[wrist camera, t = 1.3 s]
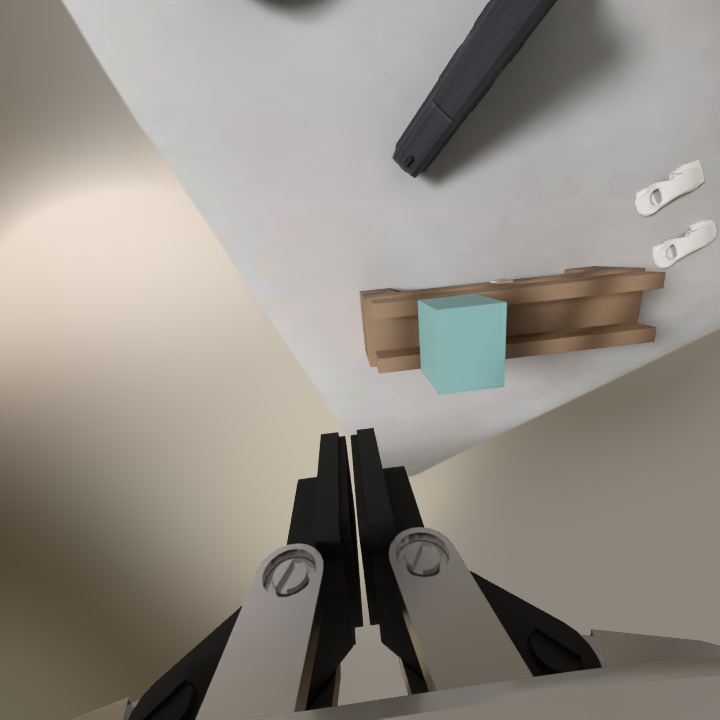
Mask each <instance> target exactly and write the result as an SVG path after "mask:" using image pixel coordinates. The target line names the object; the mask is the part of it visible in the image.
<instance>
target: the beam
mask: <svg viewBox="0 0 720 720" xmlns="http://www.w3.org/2000/svg"><path fill="white" fill-rule="evenodd" d="M665 273H666V272H647V271H645V268H628V267H599V266H592V267H583V268H574V269H565V274H561V275H551V276H542V277H533V278H524V279H514V280H506V279H500V280H490V282H486V283H477V284H468V285H459V286H449V287H440V288H431V289H421V290H412V291H403V292H395V291H393V290H392V289H390V288H387V289H378V290H369V291H360V300H361V310H362V320H363V330H364V341H365V350H366V353H367V356H368V360H369V363H370V366H371V367H376V366H377V368H378V371H379V373H387V372H396V371H404V370H413V369H421V361H420V340H419V320H418V300H423V299H432V298H441V297H451V296H460V295H469V294H478V295H481V296H485V297H489V298H493V299H496V300H500V301H504V302H507V315H506V348H505V359H508V358H517V357H526V356H534V355H543V354H552V353H560V352H569V351H578V350H586V349H595V348H604V347H612V346H621V345H630V344H638V343H647V342H654V340H655V334H656V327H652V326H647V325H643V324H638V323H637V322H638V315H639V308H640V301H641V295H642V290H649V289H658V288H663V285H664V279H665Z"/></svg>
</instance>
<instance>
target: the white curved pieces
mask: <svg viewBox="0 0 720 720" xmlns="http://www.w3.org/2000/svg"><path fill="white" fill-rule="evenodd" d="M669 175H670V181H664V182H657V183H654V184H652V185H650V186H648V187H645V188H644V189H642V190H640V191H638V192H637V193H636V201H635V204H636V208H637V211H638V213H639V214H641V215H642V216H643V217H646V216H649V215H651V214H653V213H655V212H656V211H657V210H659V209H660V208H661V207H663V206H665V205H666V204H668V203H669V202H670V201H671V200H673V199H674V198H676V197H678V196H680V195H682V194H685V193H688V192H690V191H692V190H694V189H696V188H697V187H698V186H699V185H700V184H701V183H703V182H704V178H703V172H702V168H701V165H700V162H699V160H696V161H693V162H689V163H685V164H683V165H682V166H680V167H678V168H677V169H676V170H675V171H673V172H671V174H669ZM656 189H658V190H659V192H660V195H661V203H660V204H658V203H657V201H656V200H655V197H654V190H656ZM650 197H651V200H650ZM651 201H652V202H653V204H652V203H651ZM689 228H690V229H691V230H690V231H688V232H685V237H684V238H676V239H669V240H666V241H664V242H661V243H660V244H659V245H656V246H654V247H653V250H652V251H653V254H652V257H653V261H654V263H655V265H656V266H657V267H658V269H665V268H668V267H670V266H671V265H673V264H674V263H675V262H676V261H678V260H680V259H681V258H683V257H684V256H686V255H688V254H689V253H691V252H693V251H695V250H697V249H699V248H701V247H704V246H707V245H708V244H709V243H710V242H711V241H712V240H713V239H714V238H715V237H716V233H717V228H716V225H715V223H714V222H713V221H712V220H699V221H698V222H697V223H694V224H692V225H691V226H690V227H689ZM682 234H684V233H682ZM679 235H681V234H679ZM677 236H678V235H677ZM675 237H676V236H675ZM671 245H674V246H675V249H676V253H677V256H676V257H675V258H674V257H673V253H672V250H671ZM673 258H674V259H673Z"/></svg>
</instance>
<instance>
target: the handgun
mask: <svg viewBox="0 0 720 720" xmlns="http://www.w3.org/2000/svg"><path fill="white" fill-rule="evenodd" d="M556 1H557V0H490V2H488V4H487V5H486V6H485V8H484V10H483V11H482V13H481V14H480V16H479V17H478V19H477V20H476V22H475V23H474V26H473V28H472V29H471V31H470V33H469V34H468V36H467V37H466V39H465V40H464V42H463V43H462V44H461V45H460V47H459V48H458V49H457V51H456V52H455V54H454V55H453V57H452V58H451V60H450V62H449V63H448V65H447V66H446V68H445V69H444V71H443V72H442V74H441V75H440V77H439V80H438V81H437V83H436V84H435V86H434V87H433V89H432V90H431V92H430V93H429V95H428V97H427V98H426V100H425V101H424V103H423V104H422V106H421V107H420V109H419V110H418V112H417V113H416V115H415V116H414V118H413V119H412V121H411V122H410V124H409V125H408V127H407V129H406V130H405V132H404V133H403V135H402V136H401V138H400V139H399V141H398V142H397V144H396V150H395V152H394V155H393V157H392V158H393V159H394V160H395V162H396V163H397V164H399V166H400V167H401V168H402V170H404V171H405V172H407V173H409V174H410V175H411V176H413V177H414V178H415V177H417V176H418V175H419V174H420V173H421V172H424V171H426V169H427V168H428V167H429V165H430V164H431V163H432V161H433V160H434V159H435V158H436V156H437V155H438V154H439V152H440V151H441V150H442V148H443V147H444V146H445V145H446V143H447V142H448V141H449V139H450V138H451V137H452V136H453V134H454V133H455V132H456V130H457V129H458V128H459V126H460V125H461V124H462V123H463V121H464V120H465V119H466V117H467V116H468V115H469V114H470V112H472V111H473V109H474V108H475V107H476V106H477V104H478V103H479V102H480V100H481V99H482V98H483V97H484V95H485V94H486V93H487V91H488V90H489V89H490V87H491V86H492V85H493V83H494V82H495V80H496V79H497V77H498V76H499V75H500V73H501V72H502V71H503V69H504V68H505V67H506V66H507V64H508V63H510V62H511V60H512V59H513V58H514V56H515V55H516V54H517V53H518V51H519V50H520V49H521V47H522V46H523V45H524V43H525V41H526V40H527V39H528V37H529V36H530V35H531V34H532V32H533V31H534V30H535V28H536V27H537V26H538V24H539V23H540V22H541V21H542V19H543V18H544V17H545V15H546V14H547V13H548V12H549V10H550V9H551V8H552V6H553V5H554V4H555V2H556Z"/></svg>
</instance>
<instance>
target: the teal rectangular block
mask: <svg viewBox="0 0 720 720" xmlns="http://www.w3.org/2000/svg"><path fill="white" fill-rule="evenodd" d="M506 315H507V302H504V301H500V300H496V299H493V298H489V297H485V296H481V295H478V294H469V295H460V296H451V297H441V298H432V299H423V300H418V320H419V340H420V361H421V371H422V372H423V374H424V375H425V376H426V378H427V379H428V381H429V382H430V383H431V385H432V386H433V387H434V389H435V390H436V391H437V393H438V394H448V393H456V392H465V391H473V390H482V389H490V388H499V387H504V381H505V348H506Z"/></svg>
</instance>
